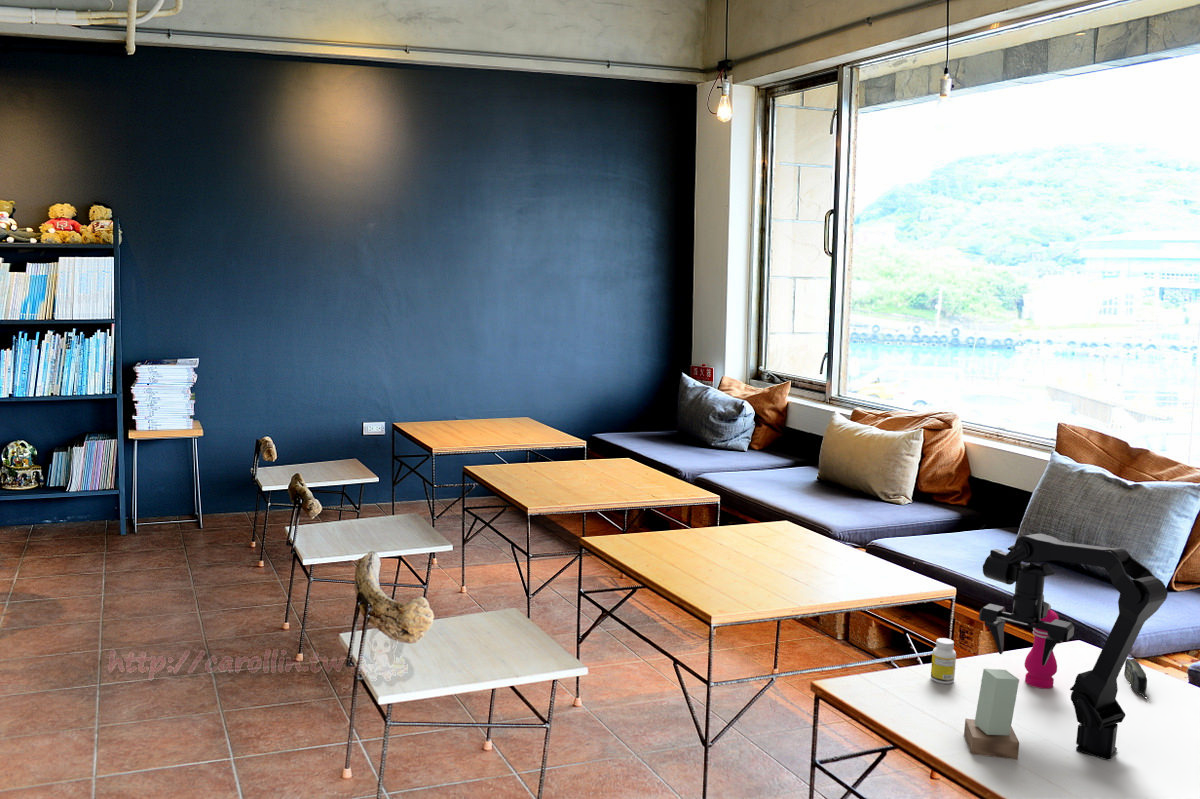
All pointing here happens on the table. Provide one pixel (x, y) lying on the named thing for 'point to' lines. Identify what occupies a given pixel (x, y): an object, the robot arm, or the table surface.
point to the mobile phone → (1136, 676)
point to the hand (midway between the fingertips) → (1022, 659)
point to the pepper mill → (1033, 662)
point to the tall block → (996, 702)
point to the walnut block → (990, 742)
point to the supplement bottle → (943, 661)
